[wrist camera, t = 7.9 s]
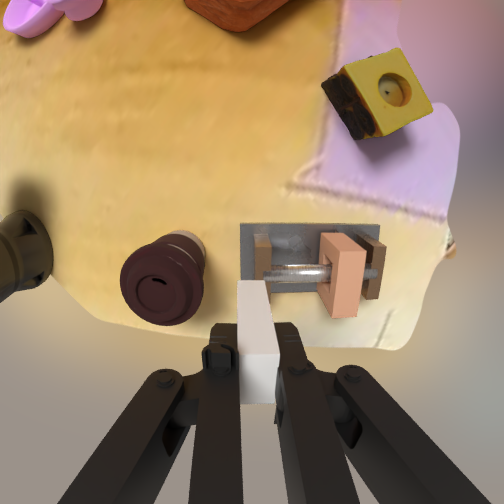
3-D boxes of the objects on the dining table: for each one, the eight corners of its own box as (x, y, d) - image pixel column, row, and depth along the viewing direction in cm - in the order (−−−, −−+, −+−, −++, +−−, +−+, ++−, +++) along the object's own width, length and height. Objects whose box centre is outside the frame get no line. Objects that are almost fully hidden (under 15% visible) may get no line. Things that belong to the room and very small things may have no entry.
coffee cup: (179, 292, 46) (155, 346, 31) (140, 246, 43) (98, 284, 29) (227, 258, 44) (219, 305, 30) (186, 207, 42) (157, 232, 27)
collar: (316, 289, 44) (331, 318, 35) (320, 232, 41) (339, 251, 33) (337, 288, 44) (356, 316, 35) (343, 232, 41) (366, 251, 33)
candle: (319, 84, 36) (339, 64, 27) (369, 63, 35) (398, 44, 25) (352, 142, 39) (382, 138, 30) (400, 118, 38) (435, 111, 28)
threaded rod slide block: (241, 290, 46) (240, 315, 38) (240, 222, 42) (239, 236, 35) (369, 286, 46) (388, 308, 39) (378, 224, 43) (401, 237, 36)
